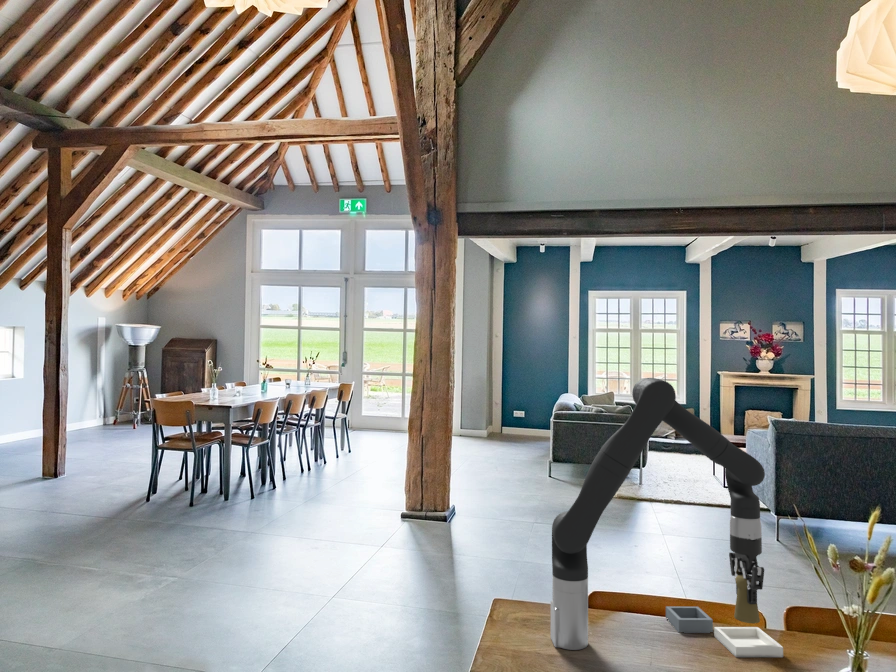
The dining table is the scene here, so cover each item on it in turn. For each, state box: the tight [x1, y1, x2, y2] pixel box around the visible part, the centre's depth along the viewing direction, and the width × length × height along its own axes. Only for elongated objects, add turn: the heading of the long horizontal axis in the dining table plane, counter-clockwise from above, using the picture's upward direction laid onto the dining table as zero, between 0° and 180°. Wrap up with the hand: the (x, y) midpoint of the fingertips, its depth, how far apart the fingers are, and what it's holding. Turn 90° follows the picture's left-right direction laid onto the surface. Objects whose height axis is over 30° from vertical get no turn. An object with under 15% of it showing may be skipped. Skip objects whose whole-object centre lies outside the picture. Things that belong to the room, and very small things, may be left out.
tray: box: [713, 626, 784, 658], centre depth 160 cm, size 12×12×2 cm
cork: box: [733, 574, 761, 624], centre depth 160 cm, size 6×6×11 cm
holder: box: [665, 605, 714, 634], centre depth 173 cm, size 9×9×4 cm
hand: (746, 599), depth 160 cm, fingers closed on cork, 5 cm apart
